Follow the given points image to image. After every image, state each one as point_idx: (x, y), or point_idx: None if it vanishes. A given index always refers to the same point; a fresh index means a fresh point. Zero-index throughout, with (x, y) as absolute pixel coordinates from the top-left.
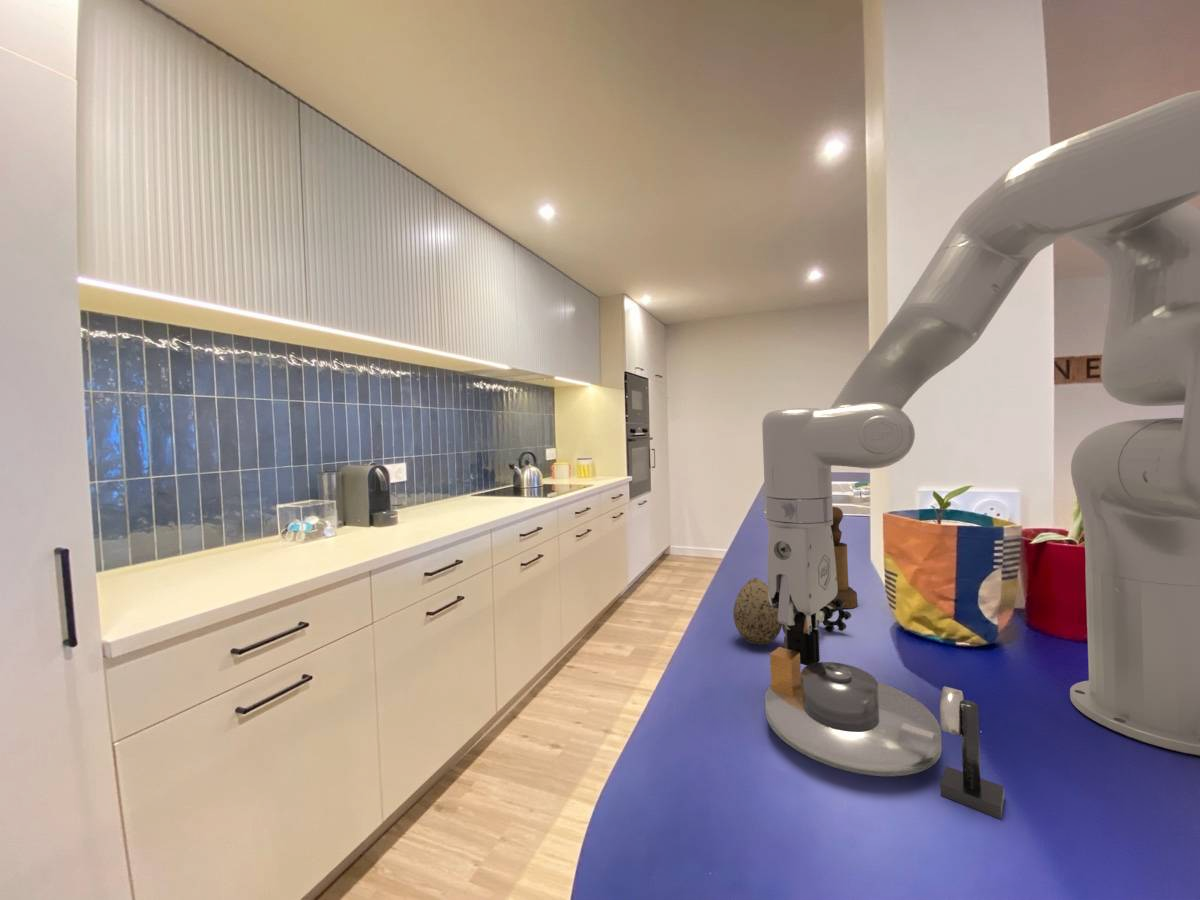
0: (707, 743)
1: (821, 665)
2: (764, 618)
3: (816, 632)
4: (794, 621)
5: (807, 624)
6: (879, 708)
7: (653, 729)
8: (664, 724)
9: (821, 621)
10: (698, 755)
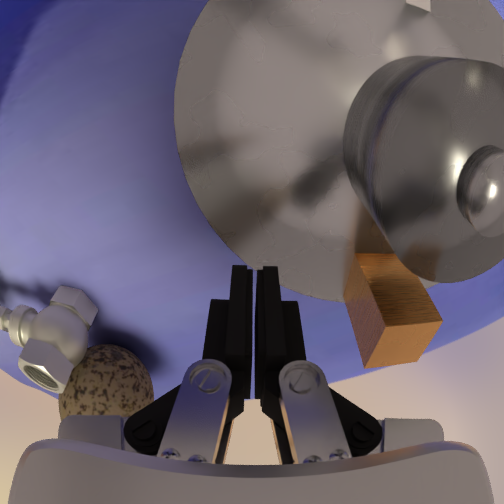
0: (463, 290)
1: (424, 251)
2: (125, 398)
3: (246, 352)
4: (390, 430)
5: (333, 405)
6: (363, 54)
7: (448, 338)
8: (437, 338)
9: (2, 307)
10: (483, 286)
